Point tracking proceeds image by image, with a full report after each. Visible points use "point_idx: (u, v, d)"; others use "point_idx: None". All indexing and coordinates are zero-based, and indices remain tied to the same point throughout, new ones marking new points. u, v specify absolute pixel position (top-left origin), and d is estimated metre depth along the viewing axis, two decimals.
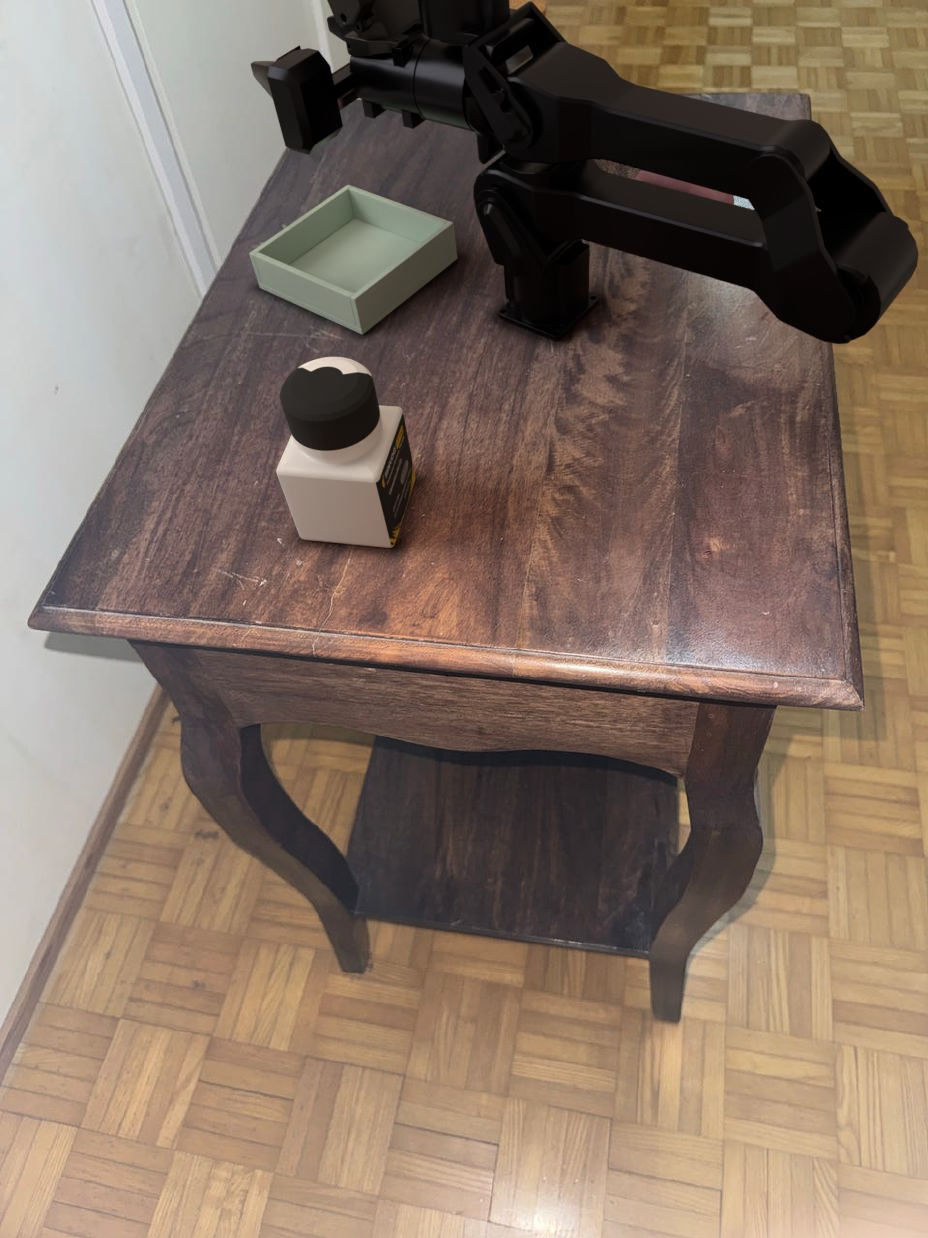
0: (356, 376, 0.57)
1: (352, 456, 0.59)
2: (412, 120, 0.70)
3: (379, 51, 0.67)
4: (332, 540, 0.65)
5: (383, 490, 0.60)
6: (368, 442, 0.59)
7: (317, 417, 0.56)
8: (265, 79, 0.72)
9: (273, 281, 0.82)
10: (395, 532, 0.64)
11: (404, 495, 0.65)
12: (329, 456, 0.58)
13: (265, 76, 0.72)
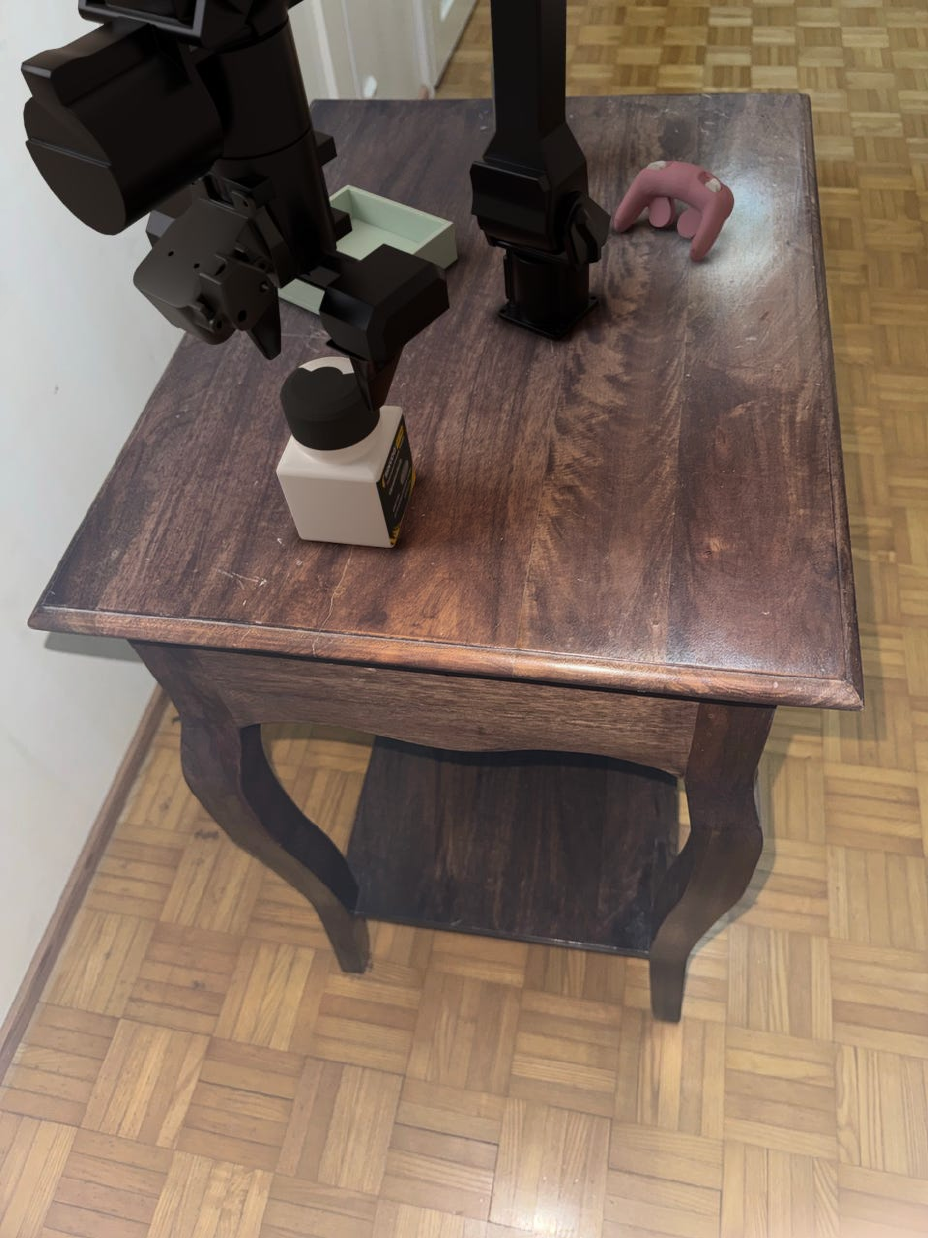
0: None
1: (352, 456, 0.59)
2: (324, 141, 0.45)
3: (272, 225, 0.45)
4: (332, 540, 0.65)
5: (383, 490, 0.60)
6: (368, 442, 0.59)
7: (317, 417, 0.56)
8: (382, 383, 0.53)
9: None
10: (395, 532, 0.64)
11: (404, 495, 0.65)
12: (329, 456, 0.58)
13: (379, 384, 0.53)
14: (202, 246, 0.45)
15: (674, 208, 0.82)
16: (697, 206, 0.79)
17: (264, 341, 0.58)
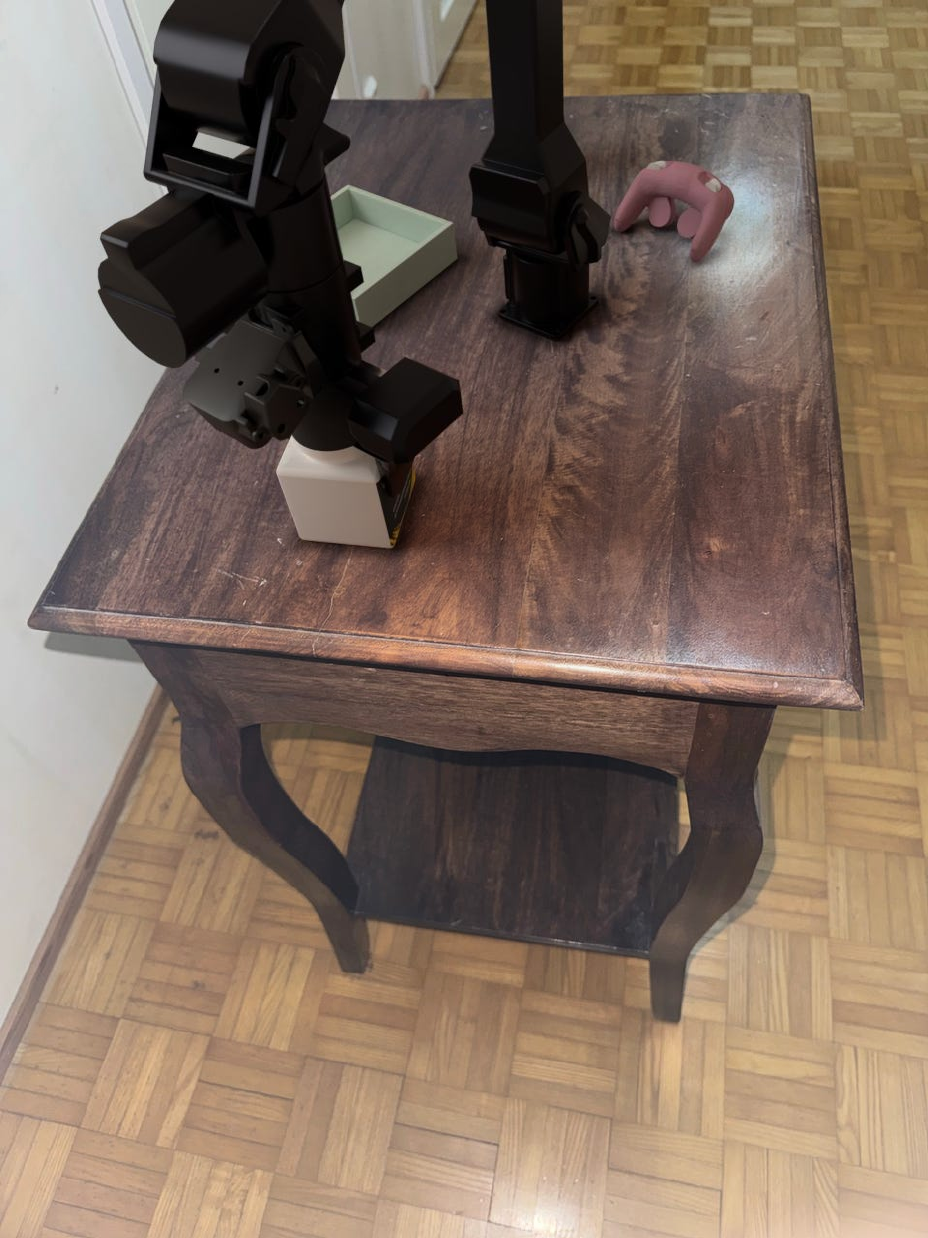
0: None
1: (352, 457, 0.59)
2: (353, 271, 0.51)
3: (307, 346, 0.51)
4: (332, 540, 0.64)
5: (383, 490, 0.60)
6: None
7: (317, 418, 0.56)
8: (401, 473, 0.59)
9: None
10: (395, 532, 0.64)
11: (404, 496, 0.65)
12: (329, 457, 0.58)
13: (398, 474, 0.59)
14: (245, 365, 0.51)
15: (674, 208, 0.82)
16: (697, 206, 0.79)
17: None
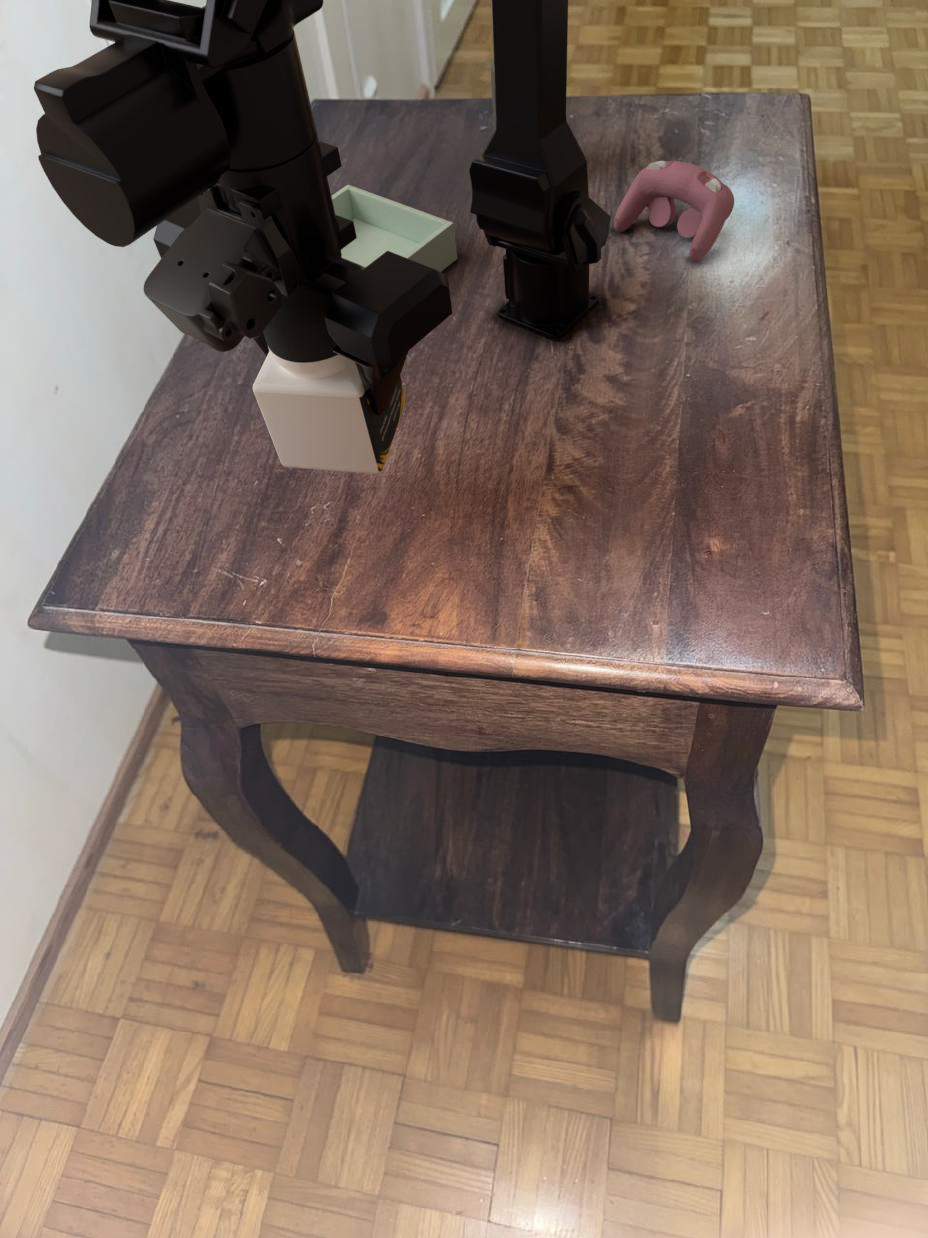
0: None
1: (333, 370, 0.55)
2: (329, 152, 0.47)
3: (279, 234, 0.46)
4: (316, 467, 0.60)
5: (368, 407, 0.55)
6: None
7: (293, 323, 0.51)
8: (387, 387, 0.54)
9: None
10: (382, 457, 0.59)
11: (393, 418, 0.61)
12: (308, 369, 0.54)
13: (384, 387, 0.54)
14: (211, 256, 0.46)
15: (674, 208, 0.82)
16: (697, 206, 0.79)
17: None
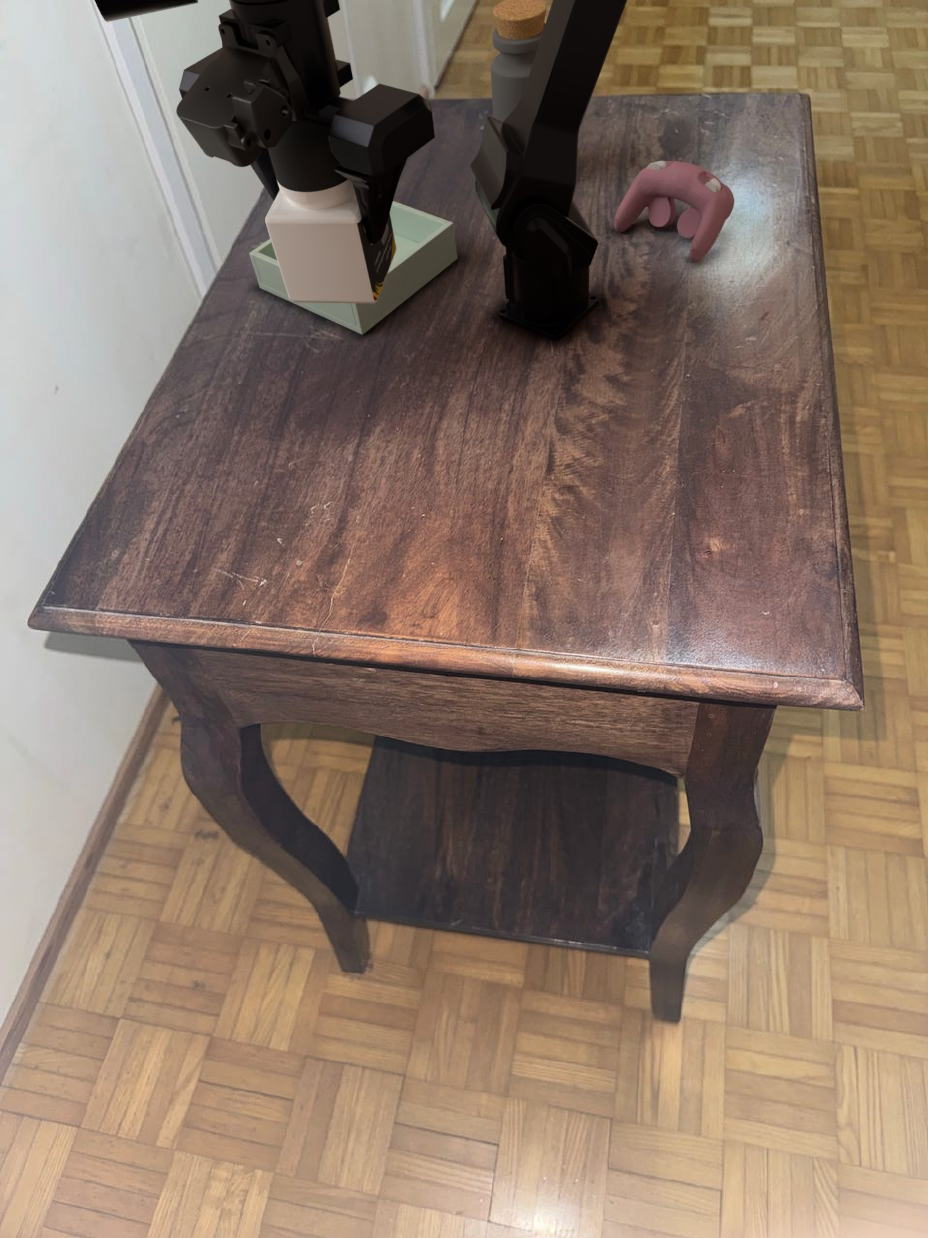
0: None
1: (334, 201, 0.64)
2: None
3: (289, 62, 0.55)
4: (319, 299, 0.69)
5: (364, 235, 0.65)
6: (349, 186, 0.63)
7: (300, 153, 0.61)
8: (380, 214, 0.64)
9: (273, 281, 0.82)
10: (377, 287, 0.69)
11: (386, 257, 0.70)
12: (313, 199, 0.63)
13: (378, 214, 0.63)
14: (233, 81, 0.55)
15: (674, 208, 0.82)
16: (697, 206, 0.79)
17: (278, 192, 0.68)
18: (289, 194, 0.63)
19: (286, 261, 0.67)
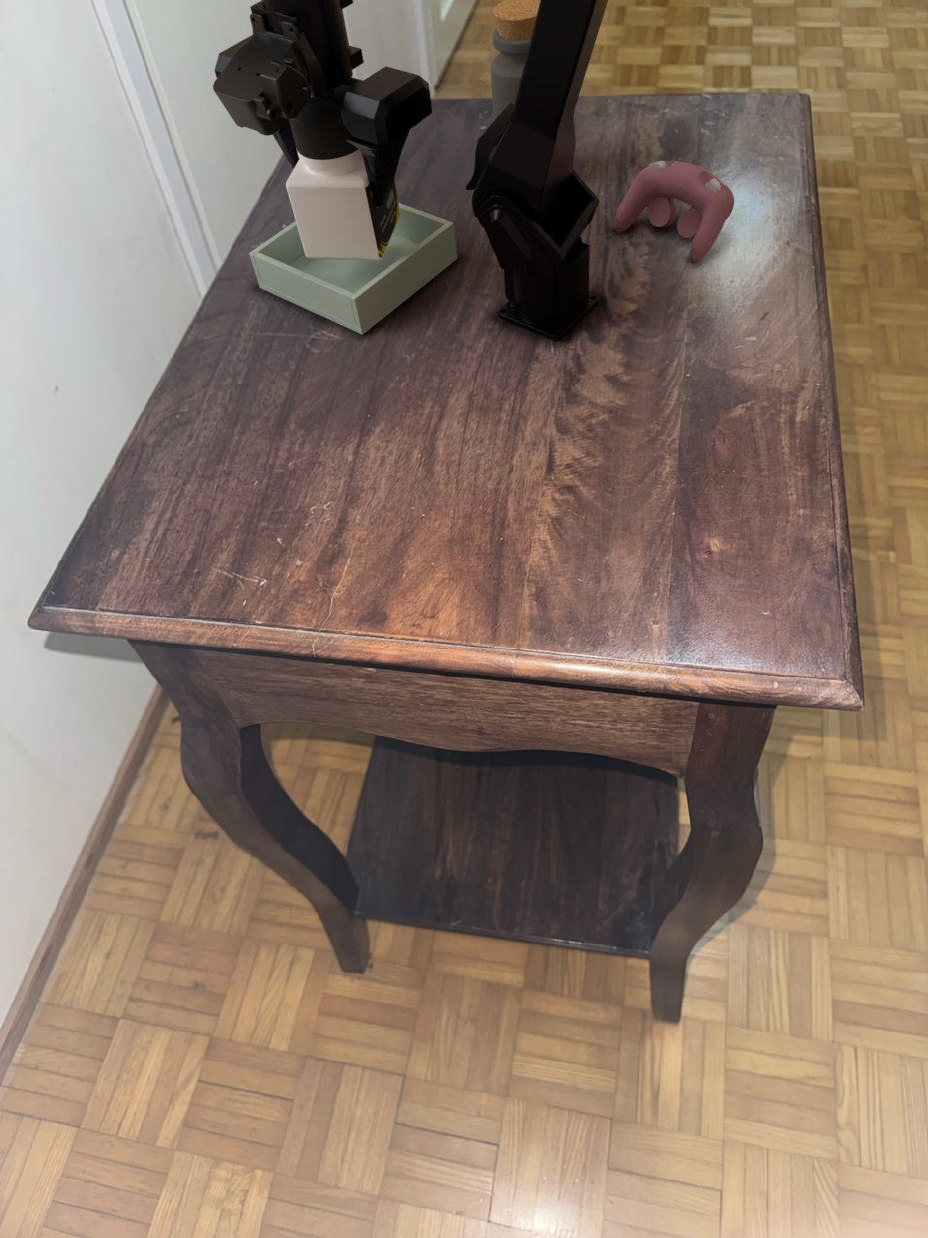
0: None
1: (346, 168, 0.74)
2: None
3: (309, 47, 0.65)
4: (332, 256, 0.79)
5: (371, 198, 0.75)
6: (359, 155, 0.73)
7: (317, 125, 0.71)
8: (385, 180, 0.74)
9: (273, 281, 0.82)
10: (382, 246, 0.79)
11: (390, 221, 0.80)
12: (327, 166, 0.73)
13: (383, 180, 0.73)
14: (261, 61, 0.65)
15: (674, 208, 0.82)
16: (697, 206, 0.79)
17: None
18: (307, 162, 0.74)
19: (303, 221, 0.77)
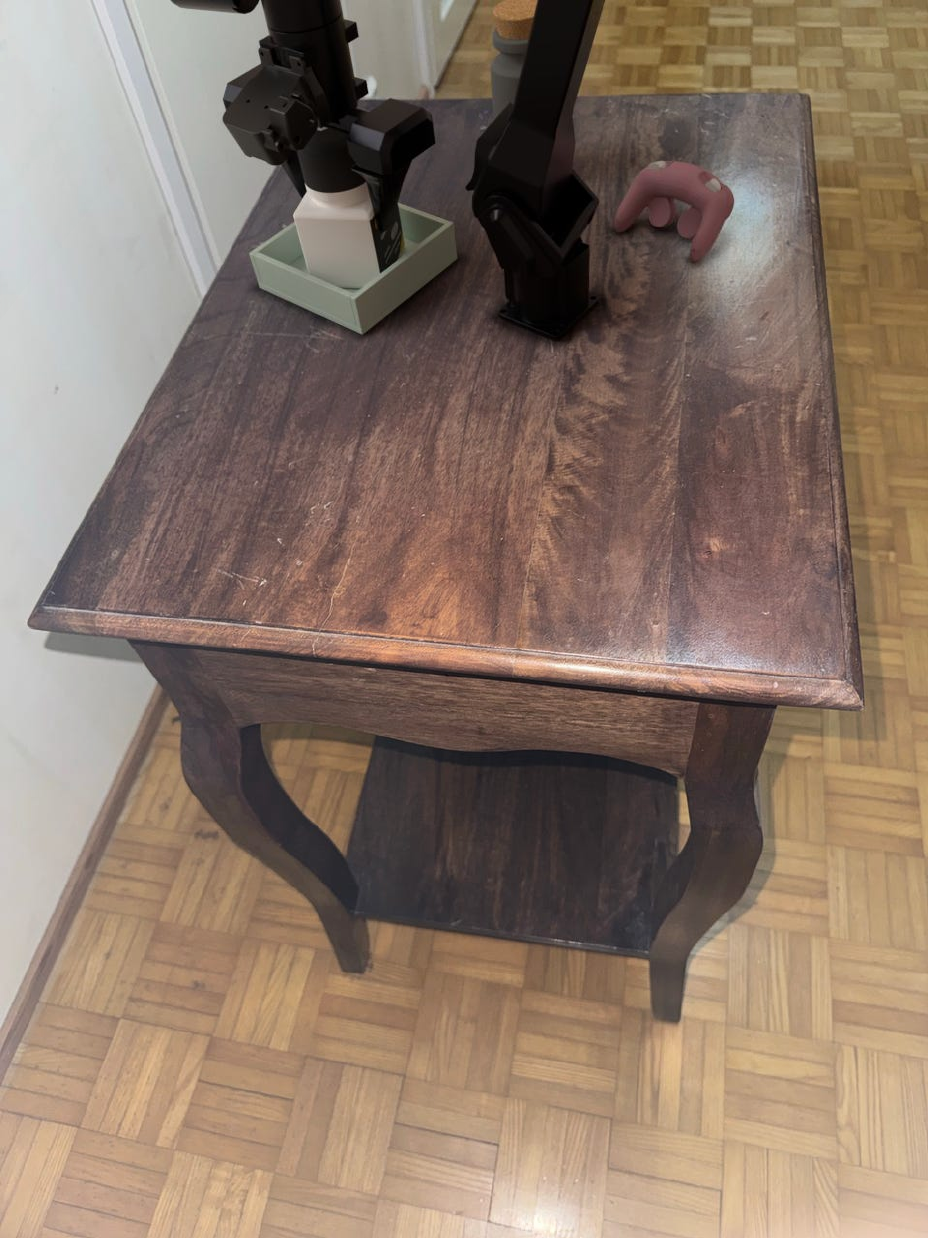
0: None
1: (351, 201, 0.76)
2: (350, 25, 0.68)
3: (316, 80, 0.67)
4: (336, 284, 0.82)
5: (376, 230, 0.77)
6: (364, 189, 0.76)
7: (324, 160, 0.73)
8: (389, 206, 0.76)
9: (273, 281, 0.82)
10: None
11: (394, 251, 0.82)
12: (334, 199, 0.75)
13: (387, 206, 0.75)
14: (269, 94, 0.67)
15: (674, 208, 0.82)
16: (697, 206, 0.79)
17: (303, 187, 0.80)
18: (314, 194, 0.76)
19: (310, 251, 0.79)
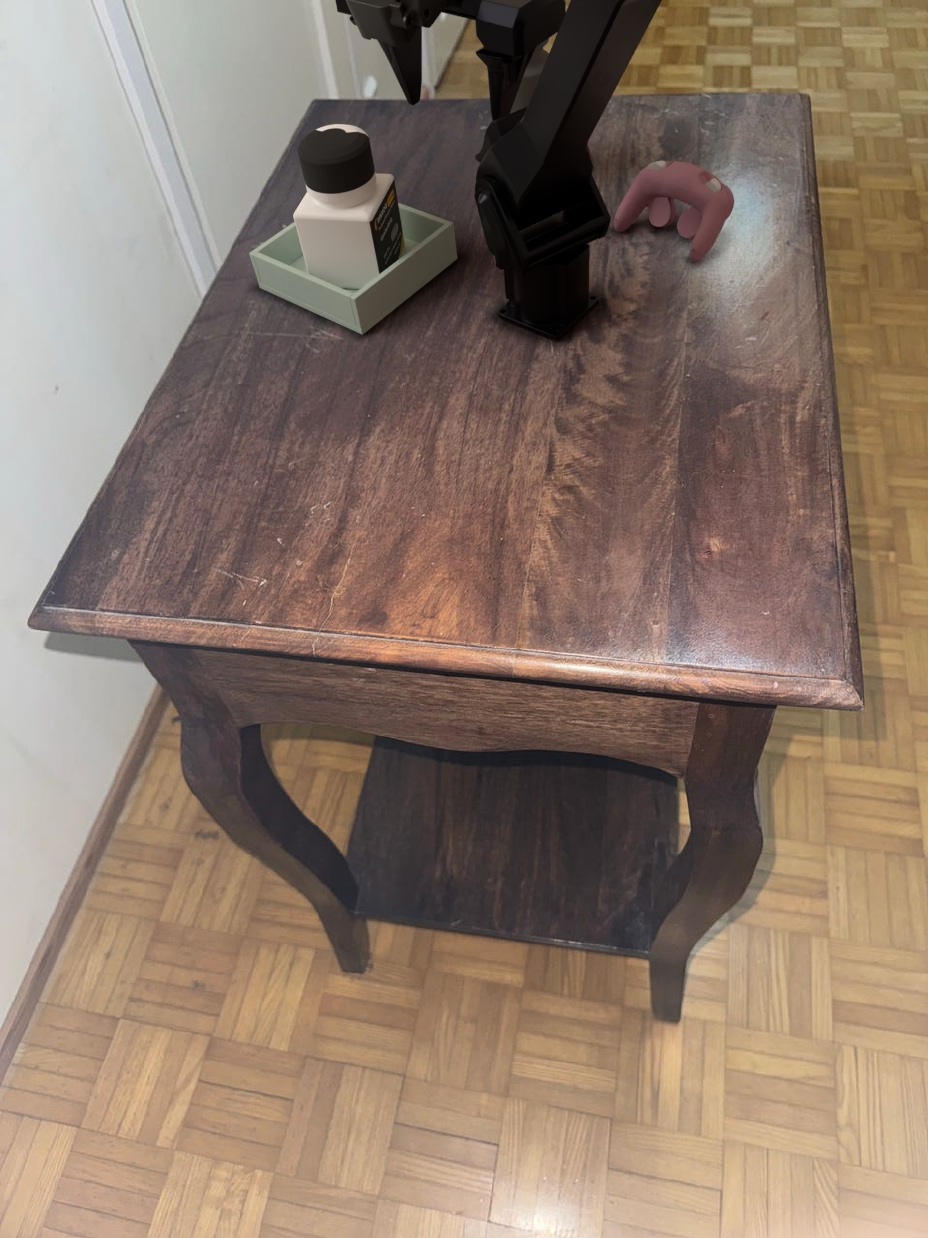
0: (356, 133, 0.74)
1: (351, 202, 0.76)
2: None
3: None
4: (336, 284, 0.82)
5: (375, 232, 0.77)
6: (364, 190, 0.76)
7: (324, 161, 0.73)
8: (507, 101, 0.71)
9: (273, 281, 0.82)
10: None
11: (394, 252, 0.82)
12: (334, 199, 0.75)
13: (505, 100, 0.71)
14: None
15: (674, 208, 0.82)
16: (697, 206, 0.79)
17: (410, 86, 0.76)
18: (314, 195, 0.76)
19: (309, 251, 0.79)
